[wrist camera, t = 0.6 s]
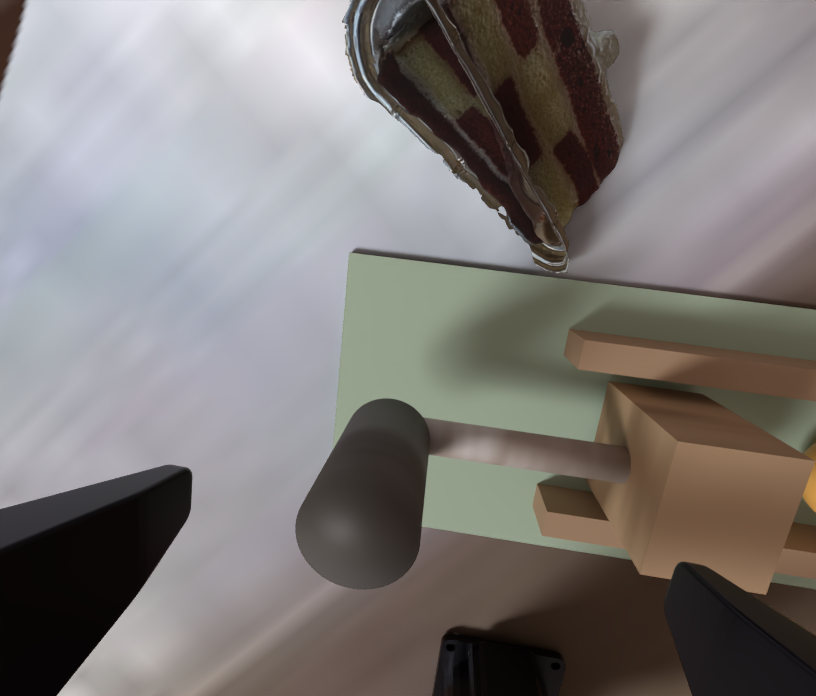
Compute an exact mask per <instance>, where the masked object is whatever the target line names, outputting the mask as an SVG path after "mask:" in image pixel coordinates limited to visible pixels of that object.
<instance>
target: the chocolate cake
mask: <svg viewBox="0 0 816 696" xmlns="http://www.w3.org/2000/svg"><path fill="white" fill-rule="evenodd" d="M350 2H352V3H351V4H350V7H349V9H348V11H347V13H346V15H345V16H344V18H343V20H342V22H343V23H346V24H347V25H346V26H345V28H346V29H347V31H346V34H345V39H346V53H345V55H347V56H348V59H349V63H350V66H351V71H352V76H353V77H354V80H355V81H356V83H358V84H359V86H360V88H361V90H363V92H364V95H365V96H366V97H367V98H370V99H371V100H374V101H376V102H378V103H380V104H381V105H382V106H383V107H384V108H385V109H386V110H387V111H388V112H389V113H390V114H391V115H392V116H393V117H394V118H395V119H397V120H398V121H400V122H401V123H402V124H403V125H404V126H405V127H407V128H408V129H409V130H410V131H411V132H412V134H413V135H414V136H416V137H417V138H418V139H419V140H420V141H421V142H422V143H423V144H424V145H425V147H426V148H428V149H430V150H431V151H433V152H435V153H437V154H440V155H442V156H443V158H444V160H443V163H444V164H445V165H447V166H448V168H449V171H451V172H452V173H453V174H454V175H455V177H456V178H457V179H460V180H461V181H463V182H466V183H467V184H468V185H469V186H470V187H471V188H472V189H475V188H477V190H478V191H479V193H480V194H481V195H482V197H481V199H482V200H483V201H484V202H485V204H486V205H487V206H488V207H489V208H492V209H496V210H497V211H499V210H498V208H499V207H500V206H503V207H504V208H505V210H506V212H507V217H506V216H504V215H503V214H501V213H498V214H499V216H500V217H501V218H502V219H504V220H505V222H506V224H507V226H508V228H509V229H514V230H516V231H515V233H516V234H517V235H520V236H521V237H522V238H523V239H524V241H525V242H526V243H528V244H529V245H530V248H531V250H532V255H533V260H534V263H535V264H536V266H539V267H541V268H543V269H545V271H551V272H553V271H554V272H556V273H557V274H558V273H560V272H565V273H567V270H566V269H567V268H568V263H569V259H568V256H567V251H568V247H569V241H568V239H567V237H566V235H565V232H564V226H565V225H567V224H568V223H569V221H570V219H571V217H572V213H573V211H574V209H575V208H576V207H578V206H581V205H583V204H584V203H585V202H586V201H587V200H588V199H589V198H590V197H591V195H592V194H593V193H594V192H595V191H597V190H598V189H599V185H600V183H601V182H602V181H603V179H604V178H605V177H607V176H608V175H609V174H610V172H611V171H612V170H613V169H614V168H615V166H616V163H617V160H618V156H619V151H620V149H621V147H622V144H623V142H624V138H623V136H622V130H621V124H620V119H619V115H618V110H617V106H616V102H615V100H614V99H613V98H612V96H611V94H610V91H609V88H608V81H607V78H606V70H607V68H608V67H609V66H610V65H611V64H613V63H614V61H615V60H616V58H617V57H618V54H619V43H618V39H617V36H616V35H615V33H614V32H613V31H611V30H606V31H601V32H594V31H592V30H591V19H590V17H589V15H588V13H587V10H586V8H585V6H584V4H583V1H582V0H350Z"/></svg>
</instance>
